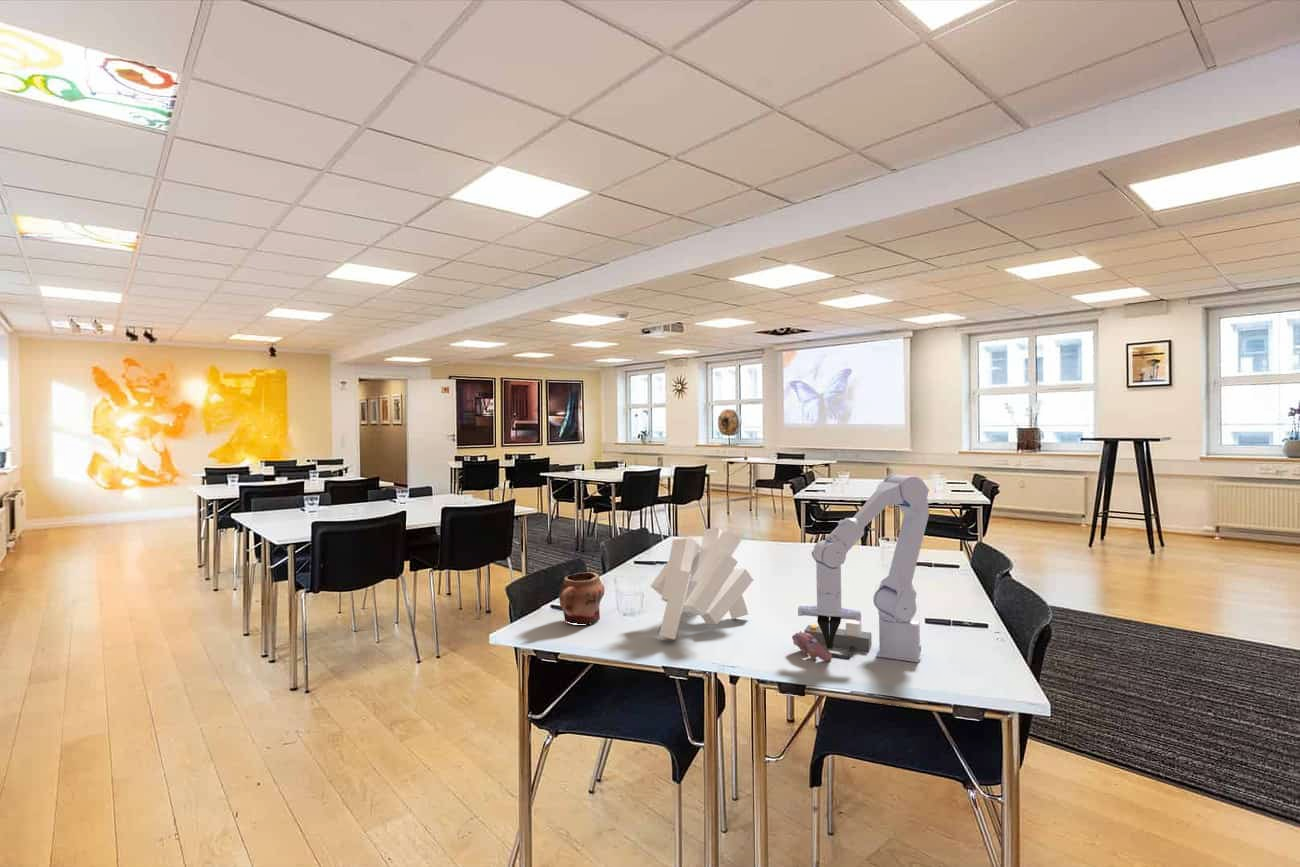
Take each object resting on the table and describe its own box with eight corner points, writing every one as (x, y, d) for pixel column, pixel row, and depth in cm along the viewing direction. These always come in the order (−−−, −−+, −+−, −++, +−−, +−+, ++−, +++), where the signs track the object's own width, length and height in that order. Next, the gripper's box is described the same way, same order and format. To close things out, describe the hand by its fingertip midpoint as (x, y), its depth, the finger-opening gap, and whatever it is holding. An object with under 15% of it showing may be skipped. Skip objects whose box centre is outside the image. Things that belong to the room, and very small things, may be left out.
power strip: (871, 645, 158) (871, 620, 158) (865, 661, 147) (864, 634, 147) (808, 636, 165) (808, 613, 165) (798, 652, 154) (797, 626, 154)
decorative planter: (584, 636, 169) (583, 585, 169) (545, 632, 173) (544, 582, 173) (613, 615, 187) (612, 570, 187) (577, 612, 191) (576, 567, 191)
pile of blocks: (738, 673, 155) (786, 543, 163) (629, 623, 160) (682, 500, 168) (728, 661, 188) (769, 555, 196) (639, 620, 193) (682, 518, 201)
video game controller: (796, 656, 155) (785, 633, 154) (810, 646, 157) (799, 623, 156) (821, 670, 146) (809, 645, 145) (835, 659, 148) (823, 634, 147)
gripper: (861, 589, 150) (861, 645, 150) (800, 585, 155) (800, 639, 155) (860, 596, 143) (861, 655, 143) (796, 592, 148) (797, 648, 148)
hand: (829, 647), depth 149 cm, fingers closed
